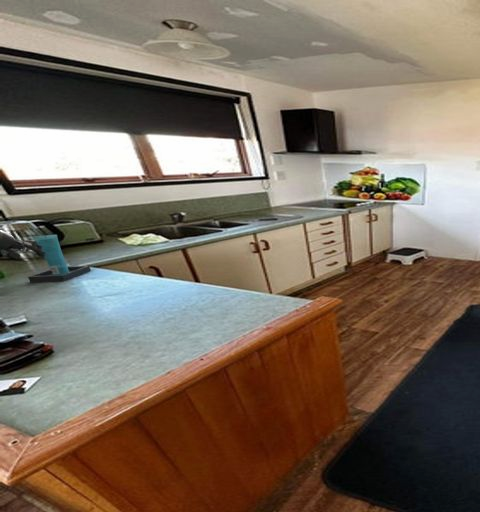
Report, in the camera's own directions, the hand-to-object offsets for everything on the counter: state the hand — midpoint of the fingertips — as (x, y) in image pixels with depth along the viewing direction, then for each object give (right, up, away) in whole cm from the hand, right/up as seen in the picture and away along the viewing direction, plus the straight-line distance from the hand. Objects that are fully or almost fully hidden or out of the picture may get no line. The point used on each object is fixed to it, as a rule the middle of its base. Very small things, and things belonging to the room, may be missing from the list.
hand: (31, 256), depth 115 cm
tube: (-2, -9, +13) cm, 16 cm away
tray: (-2, -10, +13) cm, 16 cm away
